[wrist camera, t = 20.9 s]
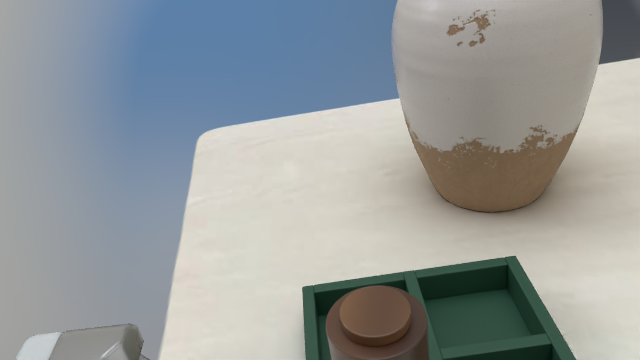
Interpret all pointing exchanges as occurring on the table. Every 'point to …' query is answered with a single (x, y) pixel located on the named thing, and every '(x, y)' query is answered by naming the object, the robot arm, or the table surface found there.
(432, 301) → the grid
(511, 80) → the vase
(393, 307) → the brown lidded canister
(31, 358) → the robot arm
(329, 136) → the table surface
